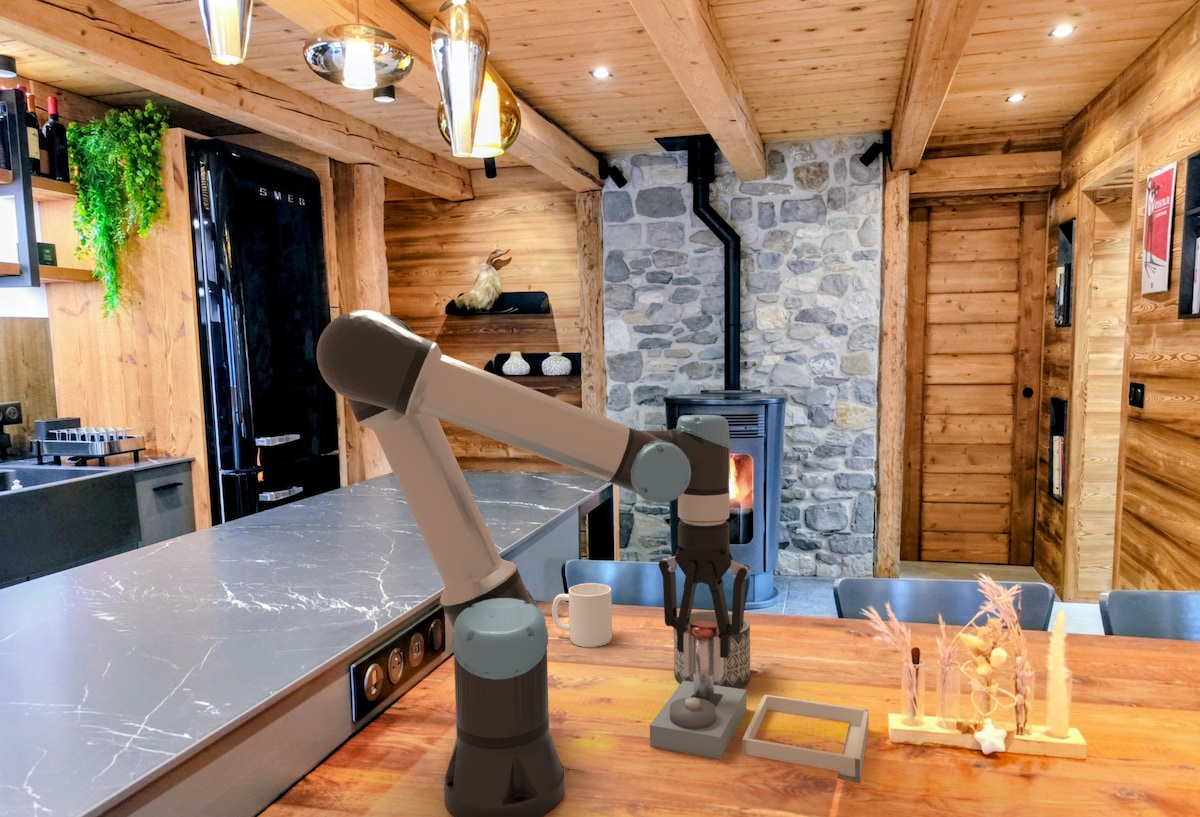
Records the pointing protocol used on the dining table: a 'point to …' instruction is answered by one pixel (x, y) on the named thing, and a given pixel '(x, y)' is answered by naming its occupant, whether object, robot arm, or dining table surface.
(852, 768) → the tray
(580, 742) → the dining table surface
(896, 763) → the dining table surface
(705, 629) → the lock pin
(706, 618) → the planter
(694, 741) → the block
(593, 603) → the cup
